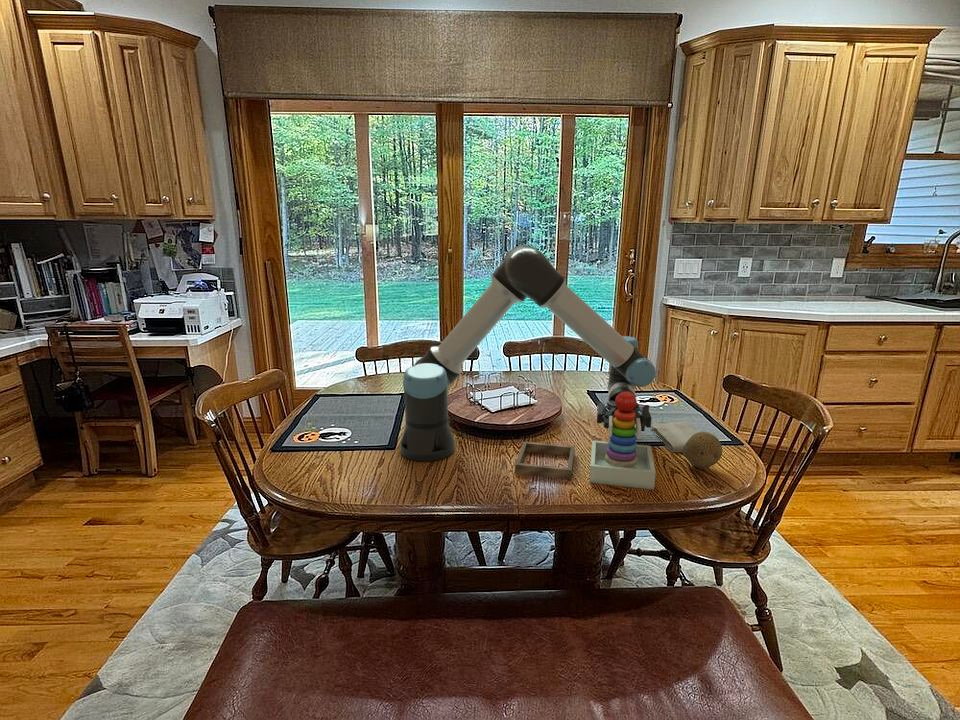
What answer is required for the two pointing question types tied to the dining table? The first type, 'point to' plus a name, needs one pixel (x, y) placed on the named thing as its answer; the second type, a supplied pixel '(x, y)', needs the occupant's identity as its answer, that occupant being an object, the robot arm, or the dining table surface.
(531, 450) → the walnut holder
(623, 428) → the stacking toy
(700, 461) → the natural sponge
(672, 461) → the dining table surface
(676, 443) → the washcloth
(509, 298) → the robot arm
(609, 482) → the sage tray
